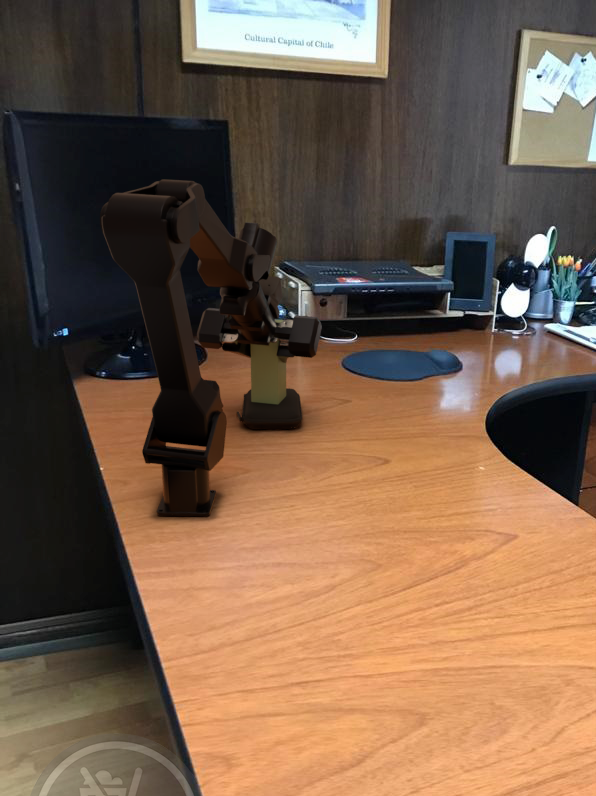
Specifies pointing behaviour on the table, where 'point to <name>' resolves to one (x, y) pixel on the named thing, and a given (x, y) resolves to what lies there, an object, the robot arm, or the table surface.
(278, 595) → the table surface
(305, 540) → the table surface
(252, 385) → the block
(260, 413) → the carrying case
